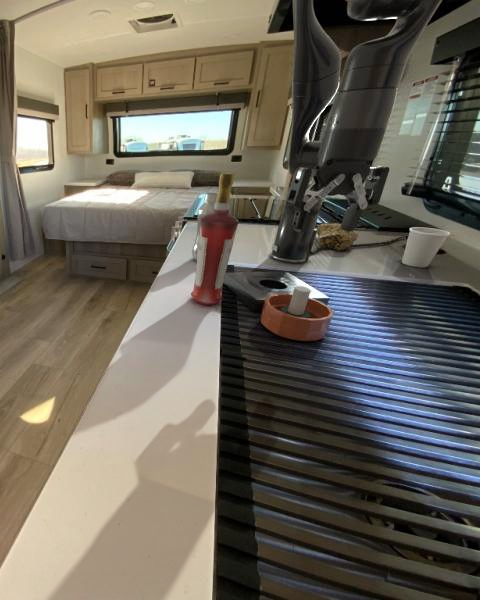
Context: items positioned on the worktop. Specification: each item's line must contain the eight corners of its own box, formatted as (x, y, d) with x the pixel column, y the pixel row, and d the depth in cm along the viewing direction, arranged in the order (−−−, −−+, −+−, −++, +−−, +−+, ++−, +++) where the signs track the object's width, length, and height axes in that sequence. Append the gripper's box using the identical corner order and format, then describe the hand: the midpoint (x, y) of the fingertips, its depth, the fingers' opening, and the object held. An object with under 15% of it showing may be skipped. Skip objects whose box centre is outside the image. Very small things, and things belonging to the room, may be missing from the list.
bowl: (300, 313, 71) (307, 292, 69) (339, 342, 61) (348, 319, 59) (249, 315, 71) (254, 294, 69) (279, 344, 61) (286, 320, 59)
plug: (295, 318, 68) (307, 283, 65) (311, 331, 64) (325, 294, 60) (272, 319, 68) (282, 283, 64) (286, 332, 63) (297, 294, 60)
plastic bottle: (215, 264, 99) (227, 195, 90) (191, 263, 101) (201, 195, 92) (211, 257, 105) (223, 192, 96) (189, 256, 106) (198, 191, 97)
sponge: (350, 257, 107) (364, 233, 118) (352, 234, 104) (366, 212, 115) (303, 255, 117) (320, 233, 128) (303, 234, 114) (320, 213, 124)
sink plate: (283, 281, 87) (286, 271, 86) (325, 310, 73) (329, 297, 71) (223, 283, 87) (225, 272, 85) (253, 311, 72) (256, 299, 71)
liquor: (190, 292, 82) (209, 171, 69) (222, 297, 79) (247, 172, 67) (187, 304, 76) (206, 174, 63) (221, 310, 73) (248, 175, 61)
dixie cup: (441, 269, 93) (459, 235, 89) (407, 268, 95) (423, 233, 90) (420, 260, 101) (436, 227, 96) (389, 258, 102) (402, 226, 98)
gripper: (326, 126, 47) (295, 238, 54) (424, 124, 47) (380, 235, 54) (294, 127, 54) (270, 226, 61) (380, 125, 54) (346, 224, 61)
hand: (322, 231), depth 58 cm, fingers open, 8 cm apart
